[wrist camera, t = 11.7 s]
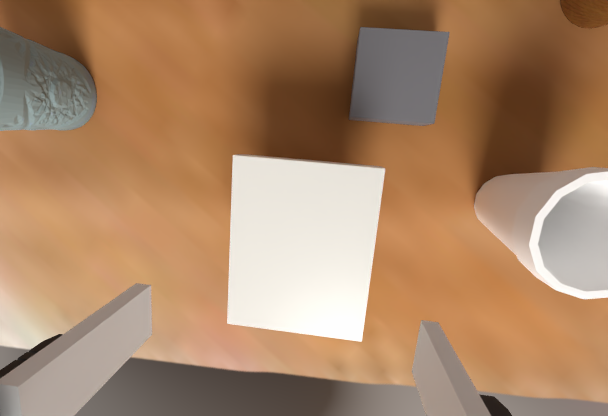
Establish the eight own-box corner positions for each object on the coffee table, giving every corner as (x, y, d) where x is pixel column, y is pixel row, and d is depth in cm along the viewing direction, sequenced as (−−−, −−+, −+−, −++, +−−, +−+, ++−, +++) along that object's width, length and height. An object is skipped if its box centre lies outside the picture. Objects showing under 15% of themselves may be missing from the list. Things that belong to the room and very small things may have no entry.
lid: (380, 166, 26) (385, 168, 24) (359, 325, 30) (361, 341, 27) (242, 153, 27) (232, 155, 25) (235, 309, 30) (227, 323, 28)
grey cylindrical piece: (9, 81, 37) (-139, 53, 26) (66, 26, 35) (-67, -31, 24) (64, 152, 39) (-54, 156, 27) (122, 103, 37) (22, 84, 25)
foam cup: (468, 156, 34) (548, 163, 21) (558, 163, 33) (696, 175, 21) (453, 239, 36) (517, 292, 23) (538, 248, 35) (652, 306, 23)
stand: (435, 45, 32) (449, 32, 28) (422, 125, 34) (434, 123, 30) (357, 40, 33) (360, 27, 29) (348, 119, 34) (350, 116, 31)
